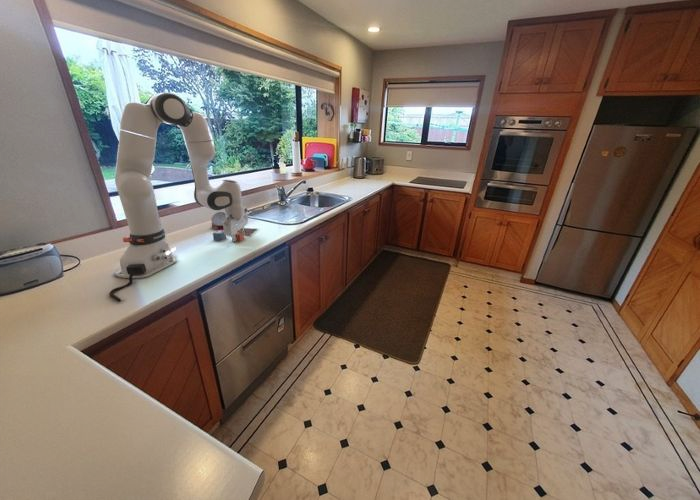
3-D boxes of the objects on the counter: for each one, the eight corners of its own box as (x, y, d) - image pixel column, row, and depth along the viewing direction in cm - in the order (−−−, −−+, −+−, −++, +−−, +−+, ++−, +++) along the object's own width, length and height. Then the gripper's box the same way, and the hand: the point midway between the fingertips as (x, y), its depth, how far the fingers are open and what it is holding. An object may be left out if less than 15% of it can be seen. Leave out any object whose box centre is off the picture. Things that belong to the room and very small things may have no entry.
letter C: (240, 242, 145) (239, 234, 144) (232, 242, 146) (231, 234, 144) (244, 239, 149) (243, 231, 148) (236, 239, 150) (235, 231, 148)
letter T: (222, 241, 146) (220, 233, 144) (214, 241, 146) (212, 233, 144) (226, 238, 150) (225, 230, 148) (218, 238, 150) (217, 230, 148)
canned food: (230, 232, 171) (236, 219, 167) (221, 236, 161) (227, 222, 158) (214, 222, 170) (220, 209, 167) (204, 226, 161) (210, 211, 157)
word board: (249, 237, 153) (249, 236, 152) (219, 235, 154) (219, 234, 154) (258, 229, 164) (257, 228, 163) (229, 228, 165) (229, 227, 164)
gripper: (230, 219, 131) (234, 245, 137) (248, 207, 150) (251, 231, 156) (217, 218, 132) (222, 245, 138) (237, 206, 150) (240, 230, 156)
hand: (238, 237), depth 147 cm, fingers open, 6 cm apart
